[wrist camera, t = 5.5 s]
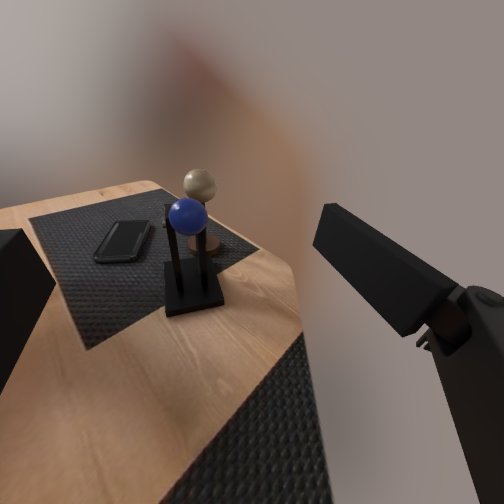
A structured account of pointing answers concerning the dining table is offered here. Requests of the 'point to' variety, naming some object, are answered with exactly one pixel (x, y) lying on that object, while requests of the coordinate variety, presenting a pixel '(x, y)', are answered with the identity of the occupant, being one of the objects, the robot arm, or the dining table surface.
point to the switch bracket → (189, 277)
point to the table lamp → (202, 189)
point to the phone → (123, 242)
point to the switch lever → (188, 216)
